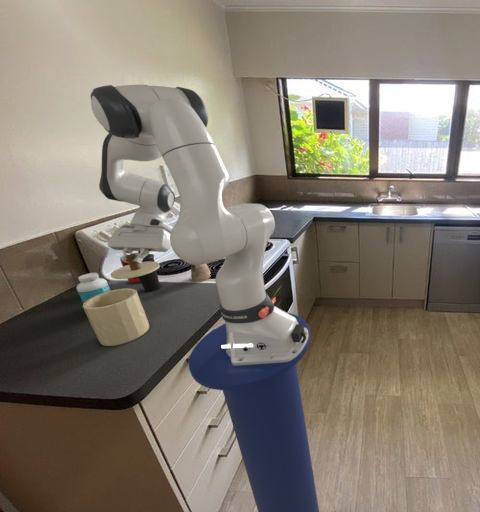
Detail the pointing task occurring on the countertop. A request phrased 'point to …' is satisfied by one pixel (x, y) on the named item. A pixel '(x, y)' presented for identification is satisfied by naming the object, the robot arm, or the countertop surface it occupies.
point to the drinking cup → (149, 276)
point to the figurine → (200, 272)
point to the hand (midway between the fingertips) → (131, 262)
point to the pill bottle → (91, 286)
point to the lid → (134, 268)
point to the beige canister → (116, 316)
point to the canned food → (131, 280)
